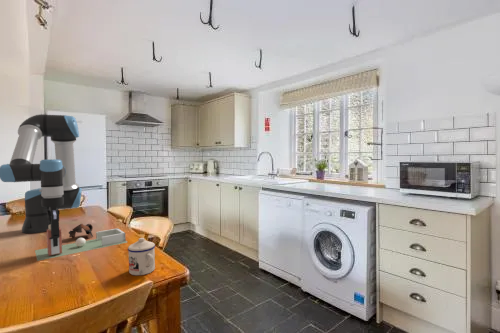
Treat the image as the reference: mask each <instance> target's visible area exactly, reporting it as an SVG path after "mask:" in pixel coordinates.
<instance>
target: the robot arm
mask: <svg viewBox="0 0 500 333" xmlns="http://www.w3.org/2000/svg"><path fill="white" fill-rule="evenodd" d="M17 134H18V137H17V140H16V144H15V147H14V149H13V151H12V152H13V153H12V154H11V155H12V156H11V158H10V161H9V163H5V164H4V163H3V164H1V165H0V181H1V182H3V183H25V182H40V187H39V188H35V189H33V188H32V189H30V190H27V191H26V192H25V193H24V200H23V201H24V213H25V218H24V221H23V224H22V227H21V233H22V234H36V233H37V234H38V233H44V232H47V229H49V228H48V225H50V224H51V238H49V239H51V254H52V255H53V254H58V253H60V249H59V237H60V235H59V227H60V210H66V209H67V210H70V209H77V208H79V207H80V206H81V202H82V201H81V200H82V191H83V188H82V187H80V185H79V184H78V183H76V171H75V170H76V168H75V153H74V151H75V150H74V149H75V148H74V143H75V142H76V141H77V139H78V138H79V137H80V131H79V126H78V122H77V119H76V117H75V116H72V115H66V114H65V115H64V114H62V115H61V114H44V113H43V114H42V113H41V114H35V115H32V116H30V117H28V118H26V119H25V120H23V121H22V122H21V124H20V125H19V126H18V129H17ZM43 137H44V138H45V137H46V138H49V137H50V141H51V142H52V143H54V152H55V153H54V154H55V158H54V159H53V158H52V159H51V158H50V159H41V160H40V161H39V163H34V159H35V155H36V151H37V147H38V143H39V140H40V139H41V138H43Z"/></svg>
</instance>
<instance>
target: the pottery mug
mask: <svg viewBox="0 0 500 333" xmlns="http://www.w3.org/2000/svg"><path fill="white" fill-rule="evenodd" d="M93 228H94V227H93V225H92V224H91V223H87V224H85V225H84V224H83V223H80V224H79V225H77V226H75V227H74V228H72V230H70V231H68V235H69V238H71V239H74V238H76V234H77V233H83V230H84V231H85V234H86V237H87V239H88V240H91V239H92V238H93V237H94V236H93V235H94V234H93V232H92V231H93ZM82 229H83V230H82Z"/></svg>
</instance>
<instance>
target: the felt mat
mask: <svg viewBox="0 0 500 333" xmlns="http://www.w3.org/2000/svg"><path fill="white" fill-rule="evenodd" d="M127 243H128V240H126V241H125V242H120V243H115V244H110V245H106V246H102V240H98V241H97V240H96V238H94V239H88V240H86V243H85V245H84V246H82V247H78V246H76V244H75V242H73V243H68V244H62V253H60V254H55V255H50V256H49V255H48V248H47V247H46V248H40V249H36V250H34V251H35V252H34V253H35V257H36V261H37V262H38V261H44V260H49V259H53V258H58V257H64V256H68V255H72V254H77V253H83V252H87V251H93V250H98V249H102V248H107V247H113V246H115V245H121V244H127Z"/></svg>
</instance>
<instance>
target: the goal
mask: <svg viewBox="0 0 500 333" xmlns="http://www.w3.org/2000/svg"><path fill="white" fill-rule="evenodd" d="M95 236H96V238H95V239H96V240H97V241H98V240H102V246H106V245H110V244H115V243H120V242H125V241H127V240H126V232H124V231H123V230H121V229H120V228H111V229H106V230H100V231H96V232H95Z"/></svg>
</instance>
